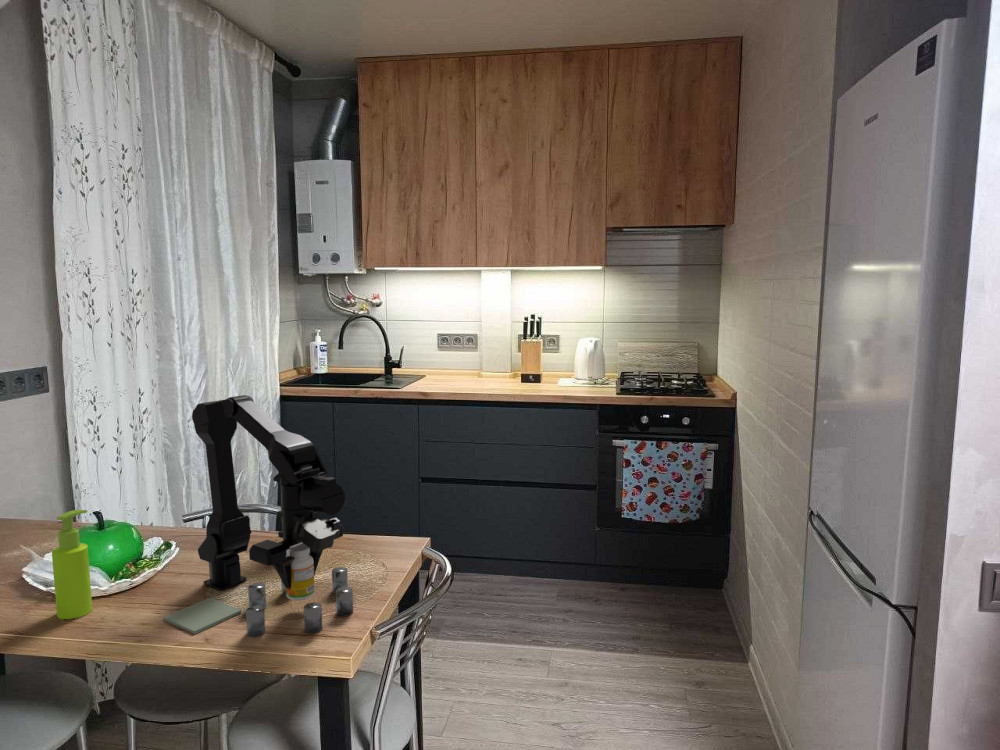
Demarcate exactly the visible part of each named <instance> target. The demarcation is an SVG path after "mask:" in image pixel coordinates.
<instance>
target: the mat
mask: <svg viewBox="0 0 1000 750" xmlns="http://www.w3.org/2000/svg"><path fill="white" fill-rule="evenodd" d="M241 612H242V609H240V608H238V607H235V606H234V605H229V604H227V603H225V602H223V601H219V600H218V599H214V598H212V597H208V598H205V599H204V600H201V601H198V602H197V603H194V604H192V605H189V606H186V607H184V608H182V609H180V610H178V611H175V612H172V613H170V614H168V615H166V616H163V618H162V619H163V621H164V622H166V623H169V624H170V625H173V626H175V627H177V628H180V629H182V630H183V631H187V632H188V633H191V634H193V635H196V634H199V633H201V632H203V631H205V630H207V629H210V628H213V626H216V625H219V624H220V623H222V622H224V621H227V620H229V619H232V618H233V617H236V616H238V615H240V614H242V613H241ZM239 613H240V614H239ZM237 614H238V615H237ZM235 615H236V616H235ZM232 616H233V617H232Z"/></svg>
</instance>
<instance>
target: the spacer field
mask: <svg viewBox="0 0 1000 750" xmlns="http://www.w3.org/2000/svg"><path fill="white" fill-rule="evenodd" d="M348 575H349V574H348V568H347V567H344V566H338V567H334V568H333V569H332V570H331V585H332V586H331V588H332V591H333V592H335V593H336V594H335V593H334V594H335V605H336V606H335V607H336V608H335V609H336V615H337V614H338V615H337V616H339V615H340V616H339V617H347V616H350V614H351V615H352V614H353V613H354V594H353V593H354V592H353V588H352V587H349V581H348ZM280 581H281V582H280V583H281V584H280V585H281V595H282V597H287V596H286V587H285V585H284V584H283V582H282V580H281V579H280ZM247 589H248V590H247V591H248V595H247V597H248V607H247V608H246V610H245V616H246V617H245V618H246V635H247V636H248V637H250V638H251V637H252V638H256V637H260V636H263V635H264V634H265V633H266V614H265V609H266V608H267V596H266V595H267V593H266V584H265V583H263V582H256V583H251V584H249V585H248V587H247ZM333 592H332V593H333ZM322 609H323V607H322V603H321V602H309V603H308V602H307V604H304V606H303V625H304V628H303V629H304V632H305V634H311V635H313V634H317V633H320V632H321V631H322V630H323V613H322V611H323V610H322Z"/></svg>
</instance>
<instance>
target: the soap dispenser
mask: <svg viewBox="0 0 1000 750" xmlns="http://www.w3.org/2000/svg"><path fill="white" fill-rule="evenodd" d="M87 513H88V509H74V510H73V509H72V510H70V511H67V512H64V513H62V514H60V515H58V516H56V519H57V520H58V521H61V523H62V529H61V530H59V531H58V533H57V537H58V538H57V539H58V546H57V547H55V548H54V549H52V551H51V559H52V561H51V562H52V572H53V582H54V583H53V584H54V595H55V596H54V597H55V605H56V607H55V608H56V617H57V618H58V619H59V618H60V619H59V620H64V619H67V620H75V619H79V618H81V617H84V616H86V615H88V614H90V613H91V612H92V610H93V599H92V587H91V586H92V585H91V575H90V564H89V563H90V560H89V551H88V550H89V549H88V544H86V543H83V542H80V530H79V529H78V528H76V527H74V519H73V518H74V517H76V516H79V515H81V514H87ZM73 618H74V619H73Z"/></svg>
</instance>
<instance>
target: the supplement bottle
mask: <svg viewBox="0 0 1000 750" xmlns="http://www.w3.org/2000/svg"><path fill="white" fill-rule="evenodd" d="M309 553H310V548H309V547H308V546H306V545H305V544H301V545H298V546H296V547H293V548H291V549H290V556H292V557H295V559H294V560H293V562H292V563H291V588H289V589H288V588H286V596H285V597H286V598H287V599H288V600H291V601H303V600H306V599H310V598H311V597H313V596H314V594H315V591H316V590H315V575H314V561H313V558H312V557H311V556H310V555H309Z"/></svg>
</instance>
